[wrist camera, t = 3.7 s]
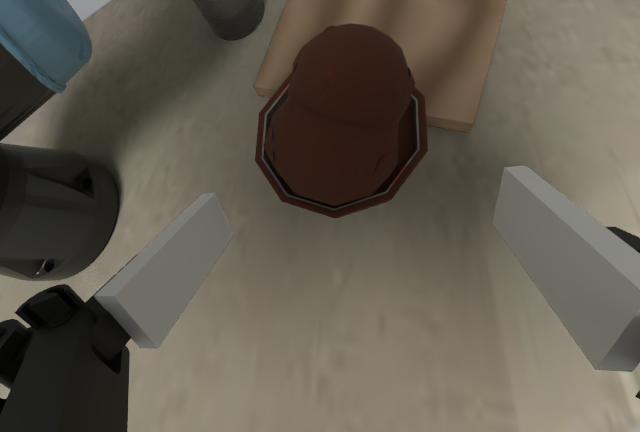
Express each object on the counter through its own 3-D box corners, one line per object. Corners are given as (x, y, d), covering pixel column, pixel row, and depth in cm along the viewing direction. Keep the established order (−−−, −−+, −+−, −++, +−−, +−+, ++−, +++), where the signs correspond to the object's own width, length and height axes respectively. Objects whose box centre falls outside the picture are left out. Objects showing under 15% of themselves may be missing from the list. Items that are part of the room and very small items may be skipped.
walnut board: (258, 95, 30) (252, 86, 28) (299, -8, 32) (295, -22, 30) (468, 132, 24) (473, 123, 23) (502, 3, 26) (510, -13, 24)
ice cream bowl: (316, 119, 28) (250, -44, 13) (425, 143, 25) (491, -34, 10) (280, 214, 26) (164, 146, 12) (391, 251, 23) (412, 219, 9)
